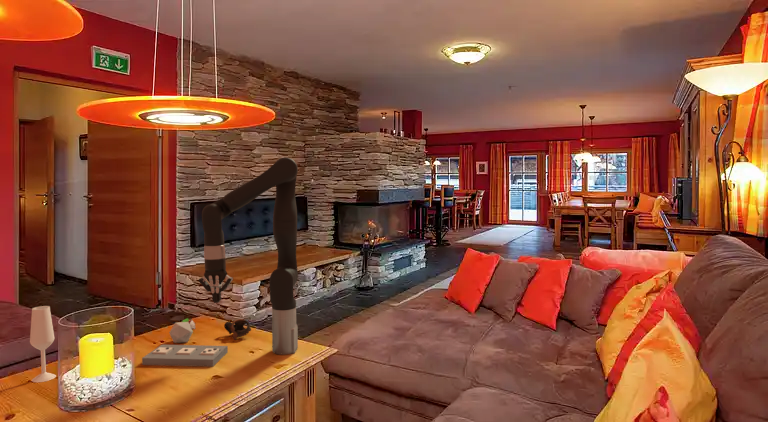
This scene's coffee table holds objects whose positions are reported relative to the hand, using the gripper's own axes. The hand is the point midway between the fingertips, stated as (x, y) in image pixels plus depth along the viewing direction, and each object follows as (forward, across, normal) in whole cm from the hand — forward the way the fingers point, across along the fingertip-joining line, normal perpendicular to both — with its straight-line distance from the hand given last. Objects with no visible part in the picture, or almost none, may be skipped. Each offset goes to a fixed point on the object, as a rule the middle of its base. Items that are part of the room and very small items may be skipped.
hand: (216, 302), depth 180 cm
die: (+20, +21, -14) cm, 32 cm away
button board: (+20, +11, +4) cm, 23 cm away
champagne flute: (+20, +51, +23) cm, 59 cm away
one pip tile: (+20, +11, +4) cm, 23 cm away
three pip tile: (+20, +2, +4) cm, 21 cm away
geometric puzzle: (+20, +23, -25) cm, 39 cm away
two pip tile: (+20, +20, +3) cm, 28 cm away
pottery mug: (+21, 0, -22) cm, 30 cm away
